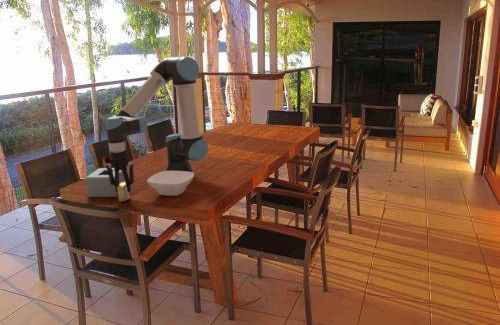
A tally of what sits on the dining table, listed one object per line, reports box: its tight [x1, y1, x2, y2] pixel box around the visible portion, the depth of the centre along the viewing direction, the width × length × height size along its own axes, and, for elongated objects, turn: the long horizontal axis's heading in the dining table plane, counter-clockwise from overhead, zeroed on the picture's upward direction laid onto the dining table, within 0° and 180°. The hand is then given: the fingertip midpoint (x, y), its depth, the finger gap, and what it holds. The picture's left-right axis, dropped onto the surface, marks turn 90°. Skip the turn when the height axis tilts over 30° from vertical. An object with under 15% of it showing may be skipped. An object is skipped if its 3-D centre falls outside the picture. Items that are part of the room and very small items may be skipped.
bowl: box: [146, 170, 195, 197], centre depth 215 cm, size 21×21×9 cm
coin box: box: [85, 167, 125, 198], centre depth 222 cm, size 14×16×10 cm
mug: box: [101, 155, 113, 168], centre depth 242 cm, size 10×14×12 cm
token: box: [117, 182, 128, 203], centre depth 207 cm, size 3×6×8 cm, turn 176°
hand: (124, 198), depth 208 cm, fingers closed on token, 3 cm apart
